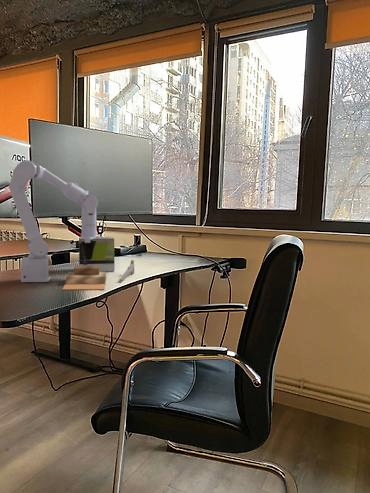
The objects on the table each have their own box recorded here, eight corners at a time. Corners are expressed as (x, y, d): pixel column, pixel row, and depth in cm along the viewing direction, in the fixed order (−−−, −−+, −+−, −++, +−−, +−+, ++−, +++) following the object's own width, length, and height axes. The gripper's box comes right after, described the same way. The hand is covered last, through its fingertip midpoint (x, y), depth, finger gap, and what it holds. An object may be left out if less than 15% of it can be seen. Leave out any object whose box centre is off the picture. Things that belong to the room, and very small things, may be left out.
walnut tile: (73, 275, 145) (73, 268, 145) (75, 272, 151) (75, 265, 151) (98, 275, 147) (98, 268, 147) (99, 272, 153) (99, 265, 153)
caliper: (131, 274, 169) (132, 259, 168) (134, 274, 169) (134, 259, 168) (118, 283, 149) (118, 267, 148) (121, 283, 149) (121, 267, 148)
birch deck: (65, 284, 142) (65, 276, 142) (69, 279, 152) (69, 271, 152) (105, 284, 145) (105, 276, 144) (106, 279, 155) (106, 271, 154)
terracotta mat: (62, 290, 134) (62, 289, 134) (65, 284, 142) (65, 283, 142) (104, 289, 136) (104, 288, 136) (105, 284, 144) (105, 283, 144)
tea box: (113, 268, 181) (113, 236, 179) (114, 272, 171) (114, 238, 170) (79, 268, 177) (79, 235, 176) (78, 272, 168) (78, 238, 166)
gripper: (98, 226, 149) (98, 261, 150) (100, 224, 163) (100, 256, 164) (79, 225, 147) (79, 261, 149) (82, 223, 162) (82, 256, 163)
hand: (89, 259), depth 157 cm, fingers closed
